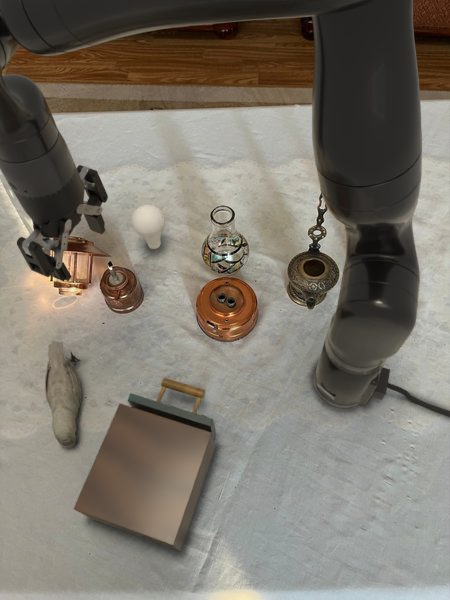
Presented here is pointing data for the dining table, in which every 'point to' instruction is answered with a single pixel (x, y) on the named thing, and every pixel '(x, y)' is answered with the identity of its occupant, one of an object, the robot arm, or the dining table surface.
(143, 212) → the lightbulb
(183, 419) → the drawer
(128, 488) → the cabinet
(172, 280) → the dining table surface
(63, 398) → the decorative bird
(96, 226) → the robot arm
